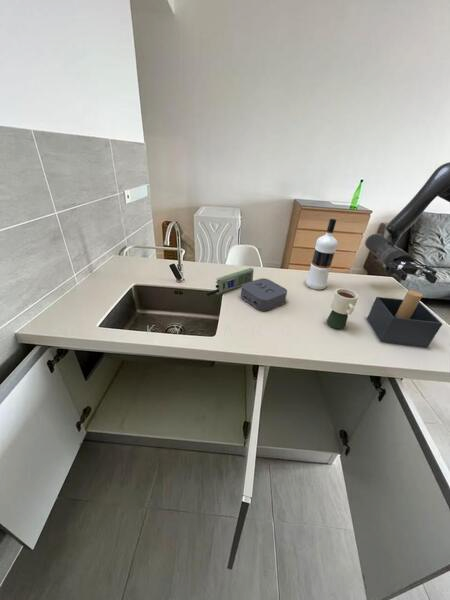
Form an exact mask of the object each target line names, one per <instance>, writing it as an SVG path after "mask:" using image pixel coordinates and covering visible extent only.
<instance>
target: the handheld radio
mask: <svg viewBox="0 0 450 600" xmlns="http://www.w3.org/2000/svg"><path fill="white" fill-rule="evenodd" d="M215 280H216V281H215V284H216V285H215V288H216V289H214V290H211V291H208V292H206V296H207V297H209V296H213V295H214V294H216V295H221V294H224V293H226V292H229V291H232V290H235V289H237V288H240V287H242V285H243V284H245V283H248V282H251V281H254V268H252V267H249V268H245V269H242V270H238V271H236V272H233V273H229V274H225V275H222V276H220V277H217V278H215Z"/></svg>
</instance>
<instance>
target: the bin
mask: <svg viewBox="0 0 450 600" xmlns="http://www.w3.org/2000/svg"><path fill="white" fill-rule="evenodd" d="M402 301H403V299H402V298H392V297H382V296H376V297H375V299H374V301H373V303H372V306H371V309H370V311H369V313H368V315H367V317H366V320H367V321H368V323H369V324H370V326H371V327H372V329H373V331H374V333H375V334H376V336H377V337H378V339H379V341H380V342H381V343H386V344H395V345H403V346H412V347H420V348H427V349H428V347H429V346H430V344H431V343H432V341H433V340H434V338H435V337H436V335H437V333H438V332H439V331H440V329H441V327H442V326H443V322H441V320H440V319H438V318H437V317H436V316H435V315H434V314H433V313H432V312H431V311H430V310H429V309H428V308H427V307H426V306H425V305H424V304H422V302H421V301H420V302H419V303H418V305H417V307H416V309H415V311H414V312H413V314H412V316H411V318H410V319H404V318H396V317H394V316H395V314H396V313H397V311H398V309H399V307H400V305H401V303H402Z"/></svg>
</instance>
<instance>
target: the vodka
mask: <svg viewBox="0 0 450 600" xmlns="http://www.w3.org/2000/svg"><path fill="white" fill-rule="evenodd" d="M337 220H338V219H336V218H329V222H328V224H327V228H326V232H325V234H324V235H322V236H319V237H318V238H317V239H316V242H315V245H314V252H313V255H312V259H311V263H310V268H309V271H308V274H307V277H306V278H305V281H304V282H305V285H306V286H307V287H308V288H310V289H313V290H317V291H318V290H324V289H325V288H326V287H327V285H328V278H329V273H330V270H331V269H332V263H333V260H334V256H335V253H336V251H337V247H338V240H337V239H336V238H335V237H334V236H333V234H334V231H335V227H336V223H337Z"/></svg>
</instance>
